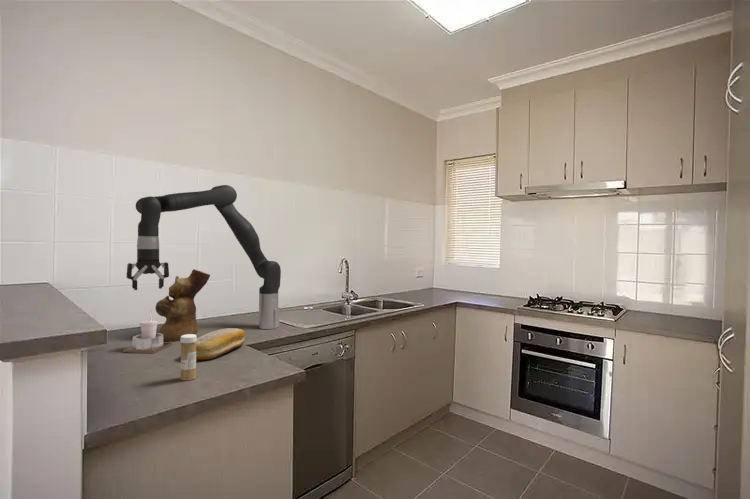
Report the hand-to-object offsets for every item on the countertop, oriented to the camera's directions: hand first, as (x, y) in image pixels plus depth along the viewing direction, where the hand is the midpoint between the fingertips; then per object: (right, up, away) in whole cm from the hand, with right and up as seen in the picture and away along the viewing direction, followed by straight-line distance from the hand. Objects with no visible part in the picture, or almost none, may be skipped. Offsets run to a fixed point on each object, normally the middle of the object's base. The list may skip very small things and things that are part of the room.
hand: (148, 289), depth 152 cm
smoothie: (0, -23, +1) cm, 23 cm away
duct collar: (0, -24, 0) cm, 24 cm away
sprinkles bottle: (+31, -25, -32) cm, 51 cm away
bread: (+28, -24, -2) cm, 37 cm away
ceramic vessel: (+4, -24, +20) cm, 31 cm away
